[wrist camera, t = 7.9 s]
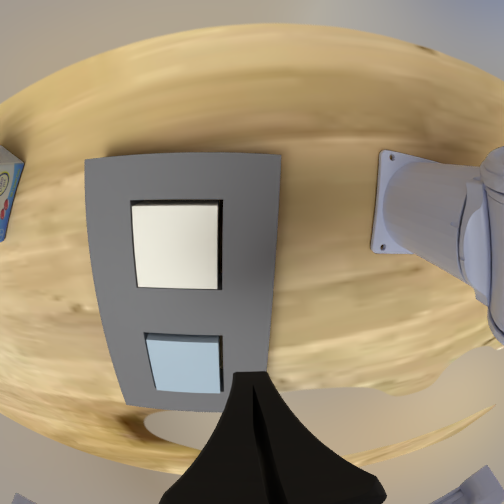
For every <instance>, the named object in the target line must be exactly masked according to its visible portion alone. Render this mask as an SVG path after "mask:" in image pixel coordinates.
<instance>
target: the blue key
mask: <svg viewBox="0 0 504 504" xmlns="http://www.w3.org/2000/svg"><path fill="white" fill-rule="evenodd" d="M146 341H147V347H148V352H149V357H150V362H151V366H152V371H153V376H154V380H155V384H156V388H157V390H162V391H174V392H190V393H220V337H219V335H187V334H166V333H150V332H149V334H148V337H147V339H146Z"/></svg>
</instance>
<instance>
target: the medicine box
mask: <svg viewBox="0 0 504 504" xmlns="http://www.w3.org/2000/svg"><path fill="white" fill-rule="evenodd" d="M23 166H24V163H23V162H22V161H21V160H19V159H18V158H17V157H16V156H14V155H13V154H12V153H10V152H9V151H8V150H7V149H5V148H4V147H3V146H1V145H0V242H2V241H4V238H5V235H6V229H7V224H8V219H9V215H10V211H11V206H12V202H13V198H14V195H15V191H16V188H17V184H18V181H19V178H20V175H21V172H22V169H23Z"/></svg>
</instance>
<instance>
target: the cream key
mask: <svg viewBox="0 0 504 504" xmlns="http://www.w3.org/2000/svg"><path fill="white" fill-rule="evenodd" d="M132 218H133V236H134V250H135V261H136V271H137V281H138V287H156V288H189V289H217V286H218V274H219V200H146V201H143V202H141V203H139V204H136V205H134V206H132Z"/></svg>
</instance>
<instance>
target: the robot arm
mask: <svg viewBox="0 0 504 504" xmlns="http://www.w3.org/2000/svg"><path fill="white" fill-rule="evenodd" d="M390 155H392V160H390ZM382 244H383V248H382V249H380V247H381V245H382ZM371 250H372V251H373V252H374V253H386V254H416V255H418V256H420V257H421V258H423V259H425V260H427V261H429V262H430V263H432V264H434V265H436V266H438V267H439V268H441V269H443V270H444V271H446V272H448V273H450V274H451V275H453V276H455V277H456V278H458V279H460V280H461V281H463V282H465V283H466V284H468V285H470V286H471V287H472V288H473V289H474V291H475V294H476V299H477V300H478V301H480V302H481V303H483V304H484V305H486V306H487V307H488V314H487V318H488V324H489V327H490V329H491V331H492V333H493V335H494V336H495V337H496V339H497V340H498V341H499V342H500V343H502V344H503V345H504V146H502V147H499V148H497V149H494V150H493V151H491V152H490V153H489V154H488V155H487V157H486V159H485V160H484V161H483V162H482V164H481V165H480V167H476V166H466V165H454V164H442V163H439V162H435V161H432V160H428V159H424V158H420V157H416V156H412V155H407V154H403V153H399V152H394V151H389V150H382V151H381V152H380V154H379V170H378V184H377V196H376V207H375V216H374V224H373V232H372V240H371ZM386 497H387V495H386V493H385V490H384V488H383V486H382V485H381V483H380V482H379V480H378V479H377V477H376V476H374V475H372V474H370V473H368V472H366V471H364V470H362V469H360V468H358V467H356V466H355V465H353V464H351V463H350V462H348V461H346V460H345V459H343V458H342V457H340V456H339V455H337V454H336V453H335V452H333V451H332V450H330V449H329V448H328V447H327V446H325V445H324V444H323V443H322V442H321V441H319V440H318V439H317V438H316V437H315V436H314V435H313V434H312V433H311V432H310V431H309V430H308V429H307V428H306V427H305V426H304V425H303V424H302V423H301V422H300V421H299V419H298V418H297V417H296V416H295V415H294V414H293V412H292V411H291V410H290V408H289V407H288V406H287V405H286V403H285V402H284V400H283V399H282V398H281V396H280V394H279V393H278V391H277V389H276V388H275V386H274V384H273V383H272V381H271V379H270V377H269V375H268V373H267V372H266V371H252V372H235V373H233V380H232V386H231V390H230V394H229V397H228V400H227V403H226V405H225V408H224V411H223V413H222V415H221V417H220V420H219V422H218V424H217V426H216V428H215V430H214V432H213V433H212V435H211V437H210V439H209V440H208V442H207V444H206V445H205V447H204V448H203V450H202V451H201V453H200V454H199V455H198V457H197V458H196V460H195V461H194V462H193V463H192V465H191V466H190V467H189V468H188V469H187V470H186V472H185V473H184V474H183V475H182V476H181V477H180V478H179V479H178V480H177V482H175V483H174V484H173V485H172V486H171V487H170V488H169V489H168V490H167V491H166V492H165V493H164V494H163V496H162V498H161V500H160V502H159V504H382V503H383V502H384V501H385V499H386ZM503 501H504V490H503V488H502V487H501V485H500V483H499V482H498V480H497V479H496V477H495V476H494V474H493V473H492V471H491V470H490V468H489V467H488V465H485V466H484V467H483V468H481V469H480V470H479V471H477V472H476V473H474V474H473V475H472V476H470V477H469V478H468V479H466V480H465V481H464V482H463V483H462V484H461V485H460V486H459V487H458V488H456V489H455V490H453V491H451V492H449V493H448V494H446V495H444V496H443V497H441V498H439V499H437V500H435V501H434V502H432V503H430V504H501V503H502V502H503ZM12 504H36V503H35V502H33V501H31V500H29V499H27V498H25V497H24V496H22V495H20V494H18V493H16V494H15V496H14V499H13V502H12Z"/></svg>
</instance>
